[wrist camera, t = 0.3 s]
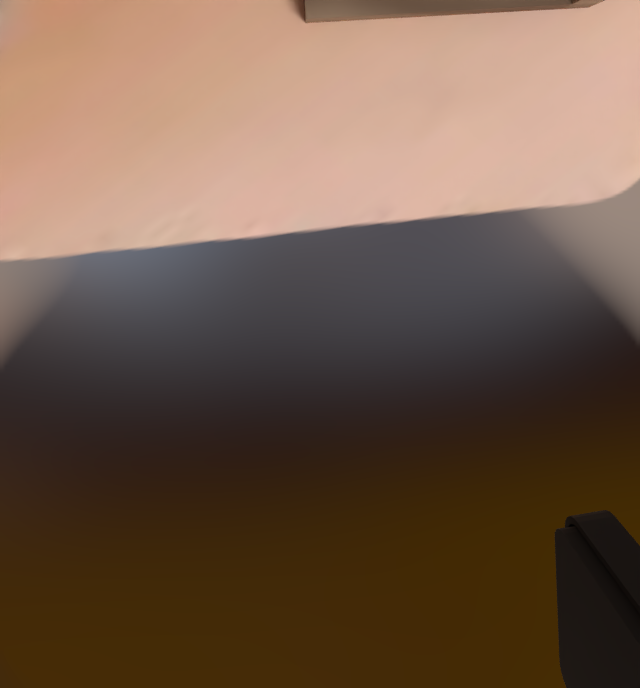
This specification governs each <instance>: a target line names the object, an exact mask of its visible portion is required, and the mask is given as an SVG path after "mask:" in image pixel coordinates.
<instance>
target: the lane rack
mask: <svg viewBox="0 0 640 688" xmlns="http://www.w3.org/2000/svg"><path fill="white" fill-rule="evenodd" d="M602 1H604V0H304V5H305V23H312V22H330V21H349V20H367V19H385V18H403V17H421V16H440V15H458V14H476V13H494V12H513V11H531V10H549V9H567V8H585V7H590V6H593V5H595V4H597V3H600V2H602Z"/></svg>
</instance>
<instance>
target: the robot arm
mask: <svg viewBox="0 0 640 688" xmlns="http://www.w3.org/2000/svg"><path fill="white" fill-rule="evenodd" d="M555 553H556V579H557V604H558V629H559V630H558V631H559V657H560V667H561V672H562V676H563V679H564V682H565V685H566V687H567V688H640V546H639V545H638V543H637V542H636V541H635V540H634V539H633V537H632V536H631V535H630V534H629V533H628V532H627V531H626V529H625V528H624V527H623V526H622V524H621V523H620V522H619V521H618V520H617V519H616V517H615V516H614V515H613V514H612V513H611V512H609V511H606V510H603V511H598V512H592V513H586V514H580V515H574V516H569V517H567V519H566V522H565V528H560V529H557V530H556V532H555Z"/></svg>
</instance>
